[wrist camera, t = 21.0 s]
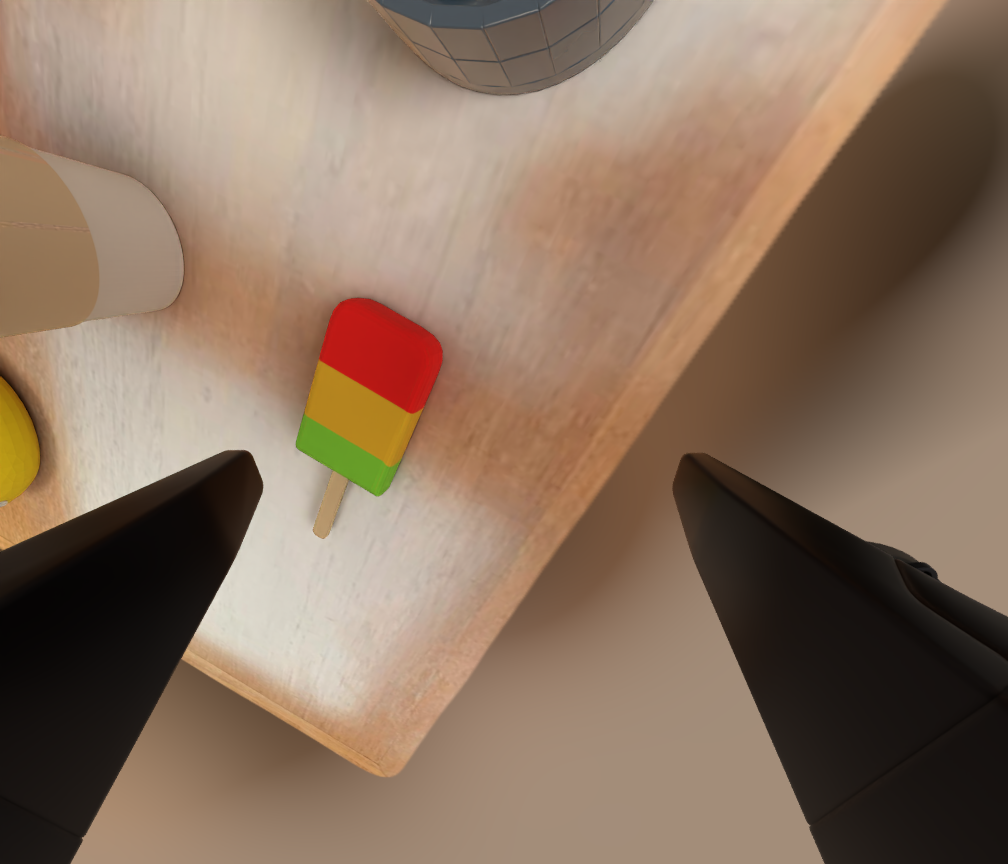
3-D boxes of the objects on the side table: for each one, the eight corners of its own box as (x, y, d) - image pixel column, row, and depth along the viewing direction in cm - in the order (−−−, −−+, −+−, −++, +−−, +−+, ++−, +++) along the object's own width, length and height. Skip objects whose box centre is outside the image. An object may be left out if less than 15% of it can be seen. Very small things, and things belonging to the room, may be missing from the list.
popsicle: (454, 342, 19) (439, 348, 17) (365, 548, 25) (347, 568, 24) (357, 287, 19) (332, 287, 18) (293, 505, 26) (270, 521, 24)
